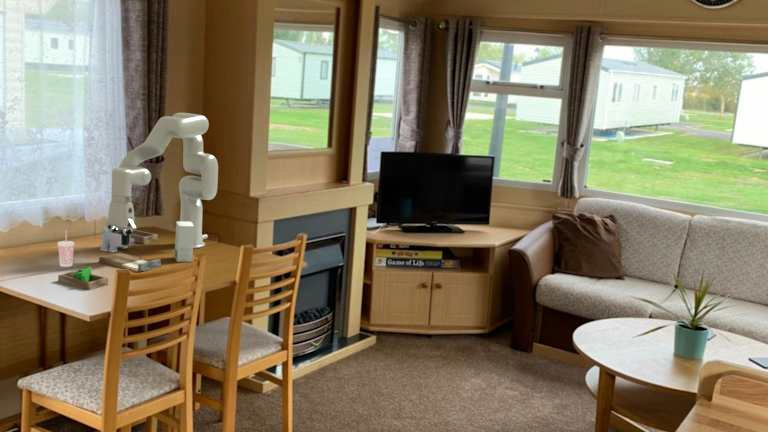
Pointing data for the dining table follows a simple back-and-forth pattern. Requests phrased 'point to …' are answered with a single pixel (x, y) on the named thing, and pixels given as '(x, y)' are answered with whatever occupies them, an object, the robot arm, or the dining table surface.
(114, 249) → the hippopotamus toy
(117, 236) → the clip block
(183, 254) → the skincare box
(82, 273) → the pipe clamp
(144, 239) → the clip frame
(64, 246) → the beverage cup
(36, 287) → the dining table surface
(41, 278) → the dining table surface
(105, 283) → the brown wooden tray
